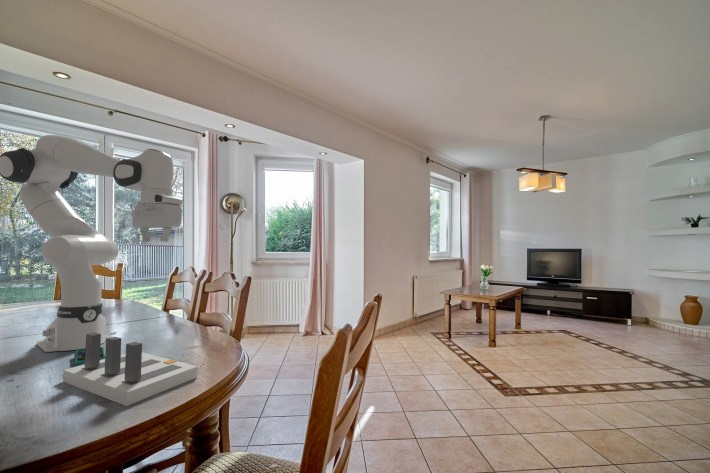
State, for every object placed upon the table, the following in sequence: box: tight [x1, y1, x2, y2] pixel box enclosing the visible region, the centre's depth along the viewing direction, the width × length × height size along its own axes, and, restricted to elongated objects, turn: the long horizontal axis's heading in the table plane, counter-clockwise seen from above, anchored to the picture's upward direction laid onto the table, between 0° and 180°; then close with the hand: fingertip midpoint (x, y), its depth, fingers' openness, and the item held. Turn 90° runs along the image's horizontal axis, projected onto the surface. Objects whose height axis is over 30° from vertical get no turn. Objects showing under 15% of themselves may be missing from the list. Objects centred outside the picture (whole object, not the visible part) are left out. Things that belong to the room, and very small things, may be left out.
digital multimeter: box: [73, 346, 105, 367], centre depth 99 cm, size 7×15×3 cm, turn 41°
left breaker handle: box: [84, 333, 102, 369], centre depth 85 cm, size 3×2×9 cm, turn 64°
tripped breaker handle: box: [104, 336, 122, 375], centre depth 82 cm, size 3×2×9 cm, turn 64°
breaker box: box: [62, 351, 199, 407], centre depth 86 cm, size 28×18×3 cm, turn 64°
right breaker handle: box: [125, 341, 143, 382], centre depth 78 cm, size 3×2×9 cm, turn 64°
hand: (155, 241), depth 104 cm, fingers open, 8 cm apart
